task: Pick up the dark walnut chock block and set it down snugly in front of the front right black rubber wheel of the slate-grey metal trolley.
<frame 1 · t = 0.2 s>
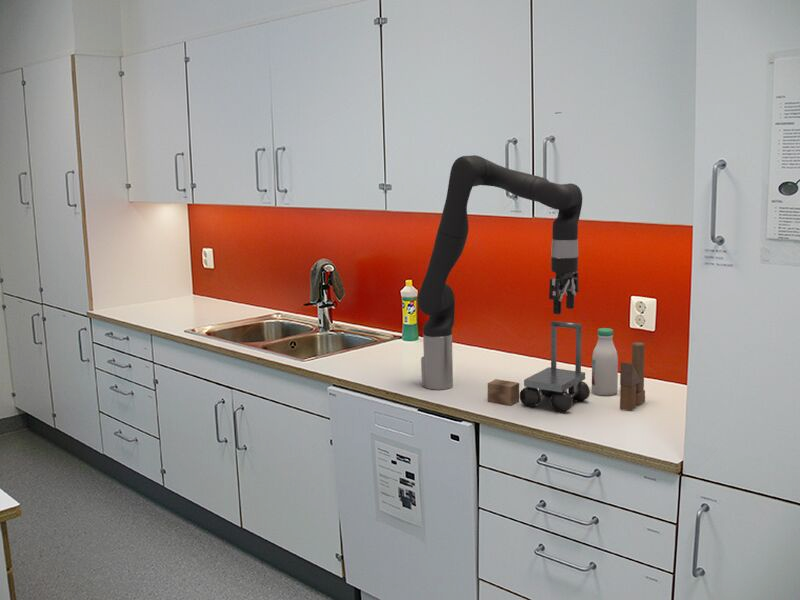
hand: (563, 311, 243), 29 cm above the worktop, fingers open, 8 cm apart
chock: (503, 402, 255), on the worktop
trolley: (554, 403, 252), on the worktop
milk bottle: (604, 393, 262), on the worktop
wooden block: (632, 406, 248), on the worktop
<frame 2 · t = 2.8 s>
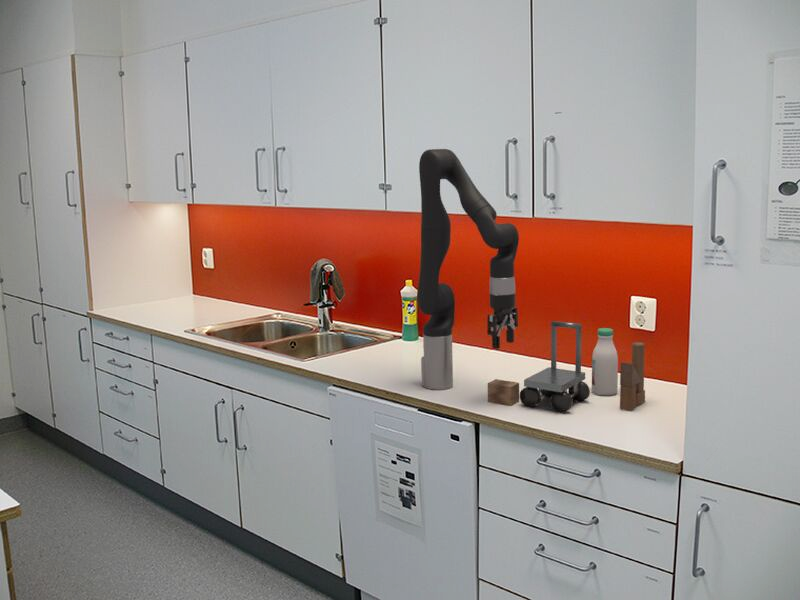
hand: (503, 345, 252), 17 cm above the worktop, fingers open, 8 cm apart
nothing on the worktop moved.
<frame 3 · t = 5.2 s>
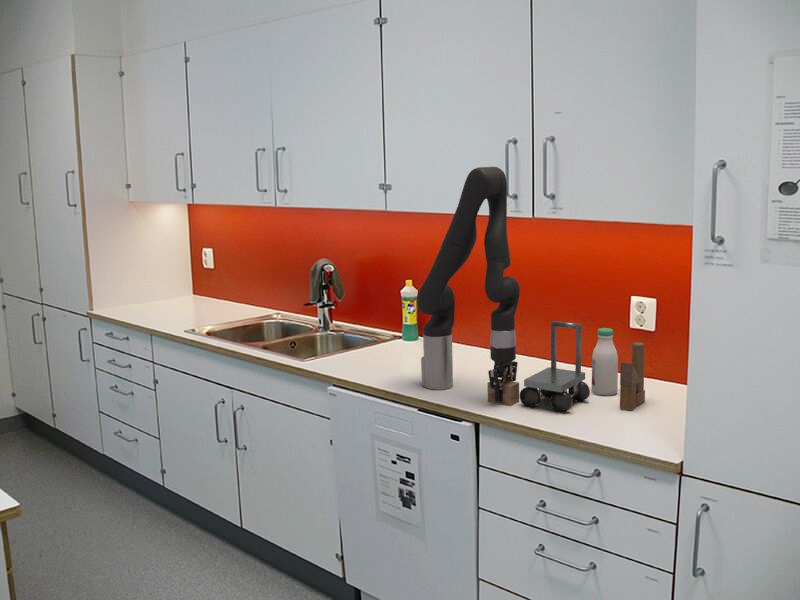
hand: (503, 398, 255), 1 cm above the worktop, fingers closed on chock, 5 cm apart
chock: (503, 401, 255), on the worktop, touching gripper
everything else where it was.
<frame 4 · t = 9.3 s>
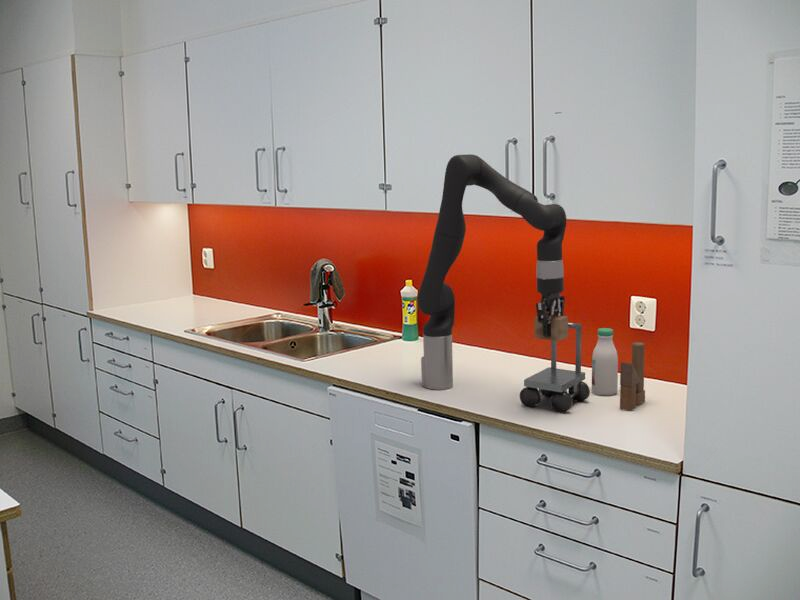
hand: (551, 334, 242), 23 cm above the worktop, fingers closed on chock, 5 cm apart
chock: (551, 337, 242), point 22 cm above the worktop, touching gripper
everything else where it was.
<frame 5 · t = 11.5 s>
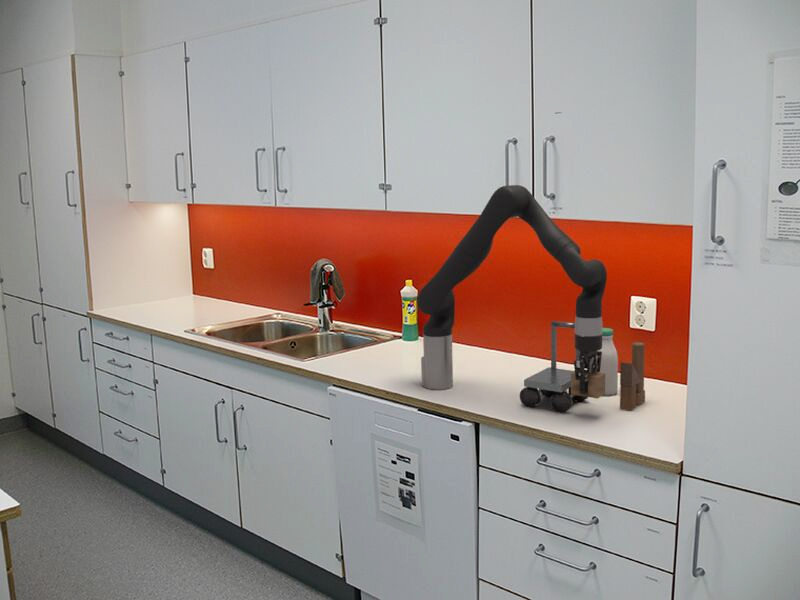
hand: (587, 390, 238), 7 cm above the worktop, fingers closed on chock, 5 cm apart
chock: (587, 394, 238), point 7 cm above the worktop, touching gripper
everything else where it was.
when the fingers open (2 cm above the worktop, at t = 13.2 s): chock stays where it is, on the worktop.
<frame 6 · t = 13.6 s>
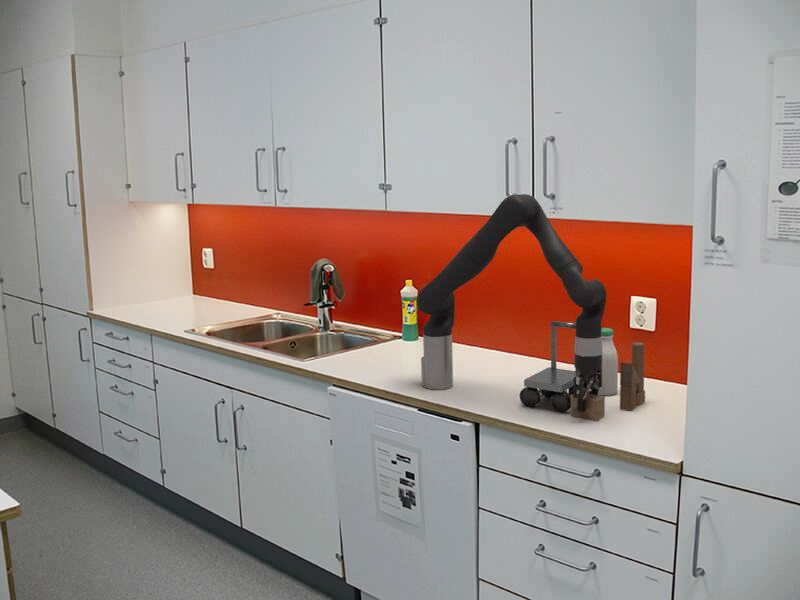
hand: (587, 407, 239), 3 cm above the worktop, fingers open, 8 cm apart
chock: (587, 416, 240), on the worktop
everything else where it was.
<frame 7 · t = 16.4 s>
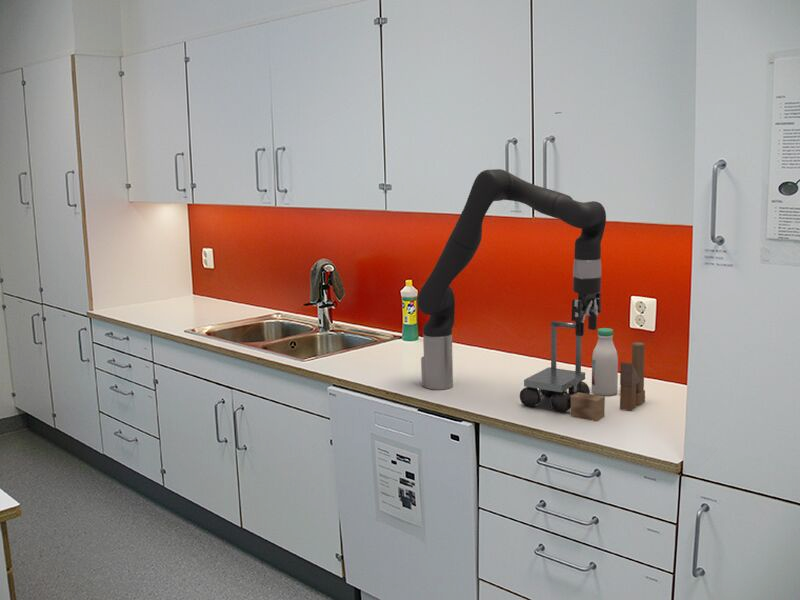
hand: (586, 332, 236), 24 cm above the worktop, fingers open, 8 cm apart
nothing on the worktop moved.
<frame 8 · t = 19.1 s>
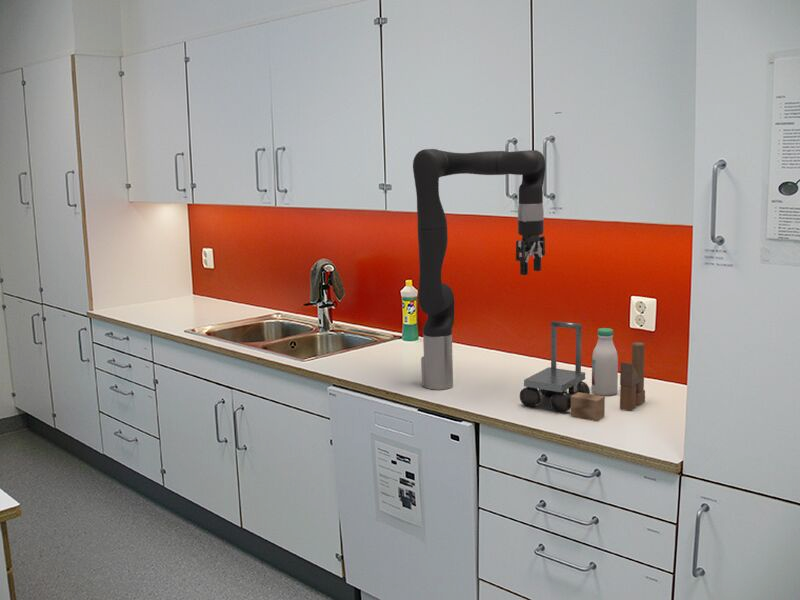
hand: (530, 272, 254), 38 cm above the worktop, fingers open, 8 cm apart
nothing on the worktop moved.
at the end: chock 0.5 cm from the target spot on the worktop beside the trolley, on the worktop; chock tilted 0°; the gripper is holding nothing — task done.
